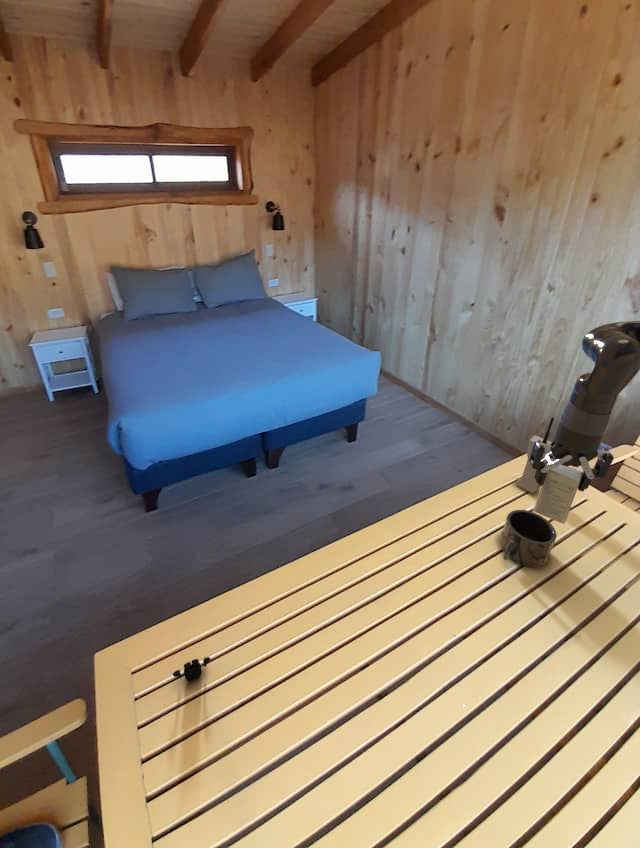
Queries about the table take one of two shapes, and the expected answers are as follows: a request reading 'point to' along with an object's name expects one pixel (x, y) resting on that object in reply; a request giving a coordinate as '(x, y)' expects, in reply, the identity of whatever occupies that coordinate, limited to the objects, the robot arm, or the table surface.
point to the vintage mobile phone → (528, 478)
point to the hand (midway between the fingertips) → (559, 485)
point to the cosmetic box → (558, 493)
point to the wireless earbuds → (192, 669)
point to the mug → (527, 538)
